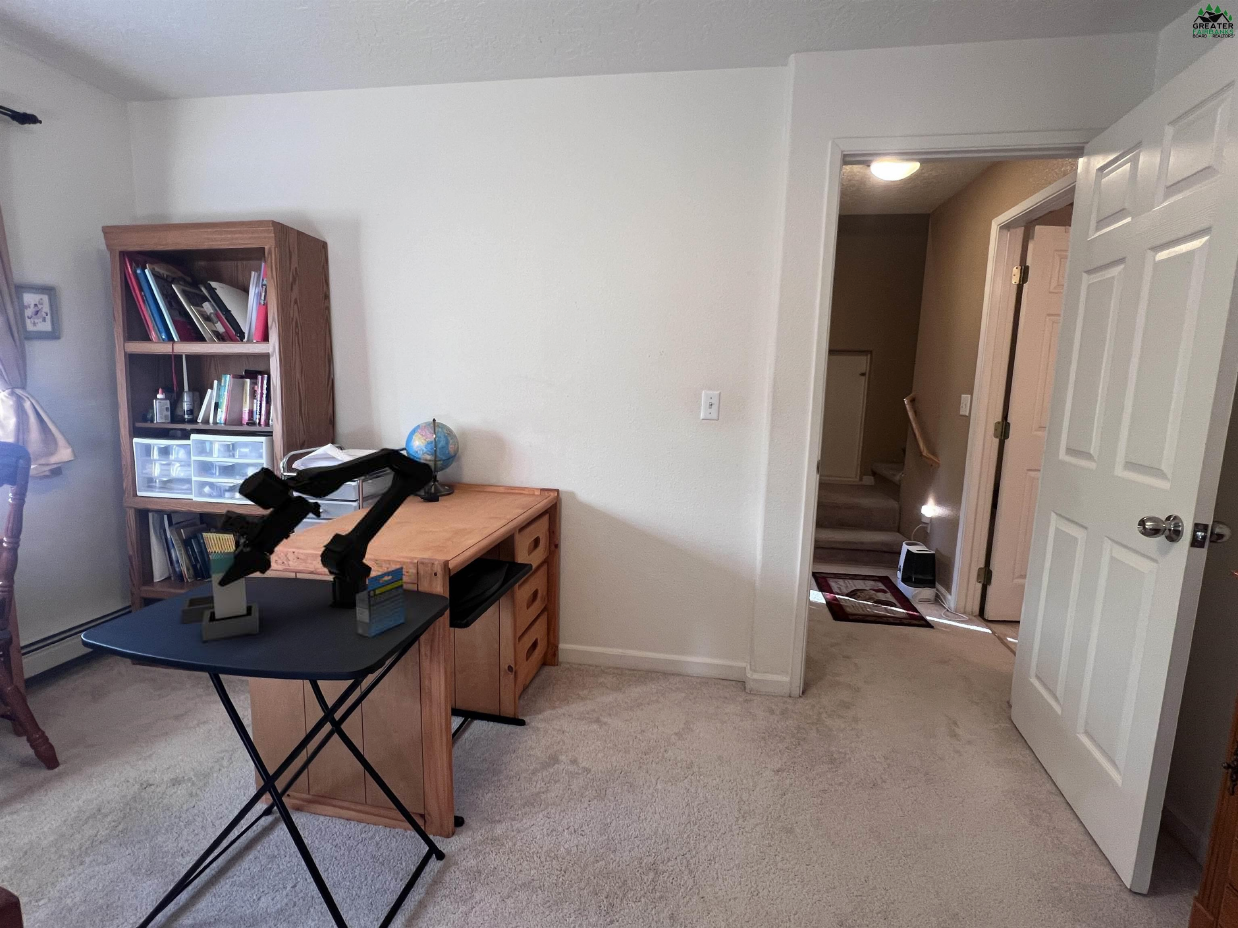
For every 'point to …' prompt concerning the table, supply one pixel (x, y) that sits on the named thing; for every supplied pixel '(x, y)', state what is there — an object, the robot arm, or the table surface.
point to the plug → (227, 588)
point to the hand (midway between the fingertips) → (220, 581)
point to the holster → (196, 608)
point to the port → (230, 624)
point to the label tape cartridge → (381, 604)
